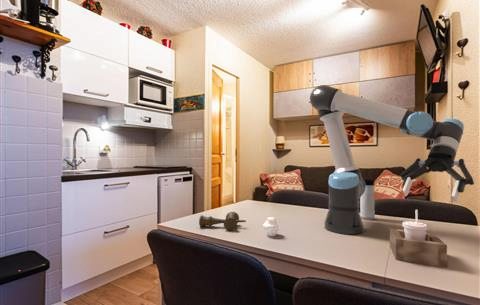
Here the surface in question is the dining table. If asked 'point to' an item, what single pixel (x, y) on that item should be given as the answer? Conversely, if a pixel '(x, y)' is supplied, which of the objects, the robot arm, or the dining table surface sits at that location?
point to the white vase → (271, 226)
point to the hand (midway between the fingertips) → (427, 196)
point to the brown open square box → (418, 249)
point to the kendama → (221, 221)
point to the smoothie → (415, 229)
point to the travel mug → (368, 201)
